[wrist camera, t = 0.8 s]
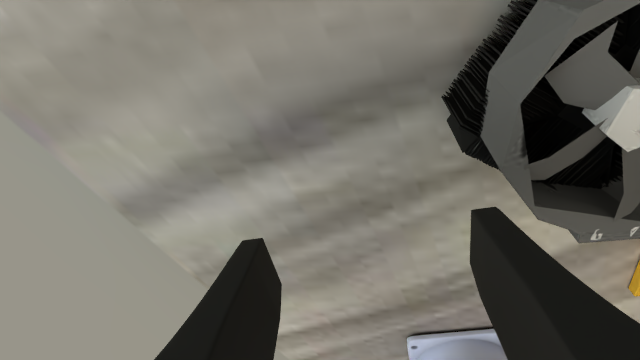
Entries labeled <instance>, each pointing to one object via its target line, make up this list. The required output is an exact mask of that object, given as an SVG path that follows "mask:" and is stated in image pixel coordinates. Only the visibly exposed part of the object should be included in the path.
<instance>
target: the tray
mask: <svg viewBox="0 0 640 360" xmlns="http://www.w3.org/2000/svg"><path fill="white" fill-rule="evenodd" d="M629 290H630V291H631V292H632V294H633V295H634V296H640V261H639V263H638V265H637V268H636V270H635V273H634V275H633V278H632V280H631V283H630V285H629Z"/></svg>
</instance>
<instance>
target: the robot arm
mask: <svg viewBox="0 0 640 360" xmlns="http://www.w3.org/2000/svg"><path fill="white" fill-rule="evenodd" d="M470 265H471V268H472V271H473V275H474V278H475V281H476V285H477V288H478V291H479V294H480V297H481V300H482V302H483V304H484V307H485V309H486V311H487V314H488V316H489V318H490V321H491V323H492V325H493V328H494V329H485V330H473V331H462V332H451V333H440V334H428V335H417V336H410V337H408V338H407V347H408V354H409V360H640V324H639V323H638V322H636V321H635V320H633V319H632V318H630V317H629V316H628V315H626V314H625V313H623V312H622V311H620V310H619V309H618V308H616V307H615V306H613V305H612V304H611V303H609V302H608V301H607V300H605V299H604V298H603V297H601V296H600V295H599V294H597V293H596V292H595V291H593V290H592V289H591V288H589V287H588V286H587V285H585V284H584V283H583V282H582V281H580V280H579V279H578V278H577V277H575V276H574V275H573V274H572V273H570V272H569V271H568V270H567V269H565V268H564V267H563V266H562V265H561V264H559V263H558V262H557V261H556V260H555V259H553V258H552V257H551V256H550V255H549V254H548V253H546V252H545V251H544V250H543V249H542V248H541V247H539V246H538V245H537V244H536V243H535V242H534V241H533V240H532V239H530V238H529V237H528V236H527V235H526V234H525V233H524V232H523V231H522V230H521V229H520V228H518V227H517V226H516V225H515V224H514V223H513V222H512V221H511V220H510V219H509V218H508V217H507V216H506V215H505V214H504V213H503V212H502V211H500V210H499V209H498V208H497V207H490V208H483V209H475V210H471V241H470ZM281 286H282V284H281V282H280V279H279V277H278V274H277V272H276V269H275V267H274V265H273V262H272V260H271V257H270V255H269V252H268V250H267V248H266V245H265V243H264V240H263V238H258V239H251V240H244V241H242V242H241V243H240V245H239V246H238V248H237V249H236V251H235V252H234V253H233V255H232V256H231V258H230V259H229V261H228V262H227V264H226V265H225V267H224V268H223V270H222V271H221V273H220V274H219V276H218V277H217V279H216V280H215V282H214V283H213V284H212V286H211V287H210V289H209V290H208V291H207V293H206V295H205V296H204V297H203V299H202V300H201V302H200V303H199V304H198V306H197V307H196V308H195V310H194V311H193V312H192V314H191V315H190V316H189V317H188V319H187V320H186V321H185V323H184V324H183V325H182V326H181V328H180V329H179V330H178V332H177V333H176V334H175V335H174V337H173V338H172V339H171V341H170V342H169V343H168V344H167V345H166V346H165V348H164V349H163V350H162V351H161V352H160V354H159V355H158V356H157V357H156V358H155V359H154V360H273V359H274V353H275V347H276V341H277V334H278V328H279V322H280V311H281Z"/></svg>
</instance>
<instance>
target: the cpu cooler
mask: <svg viewBox="0 0 640 360" xmlns="http://www.w3.org/2000/svg"><path fill="white" fill-rule="evenodd" d="M517 1H518V0H517ZM525 1H526V2H528V3H530V4H531V5H533V6H534V7H531V6H529V5H527V4H525V3H522V2H520V1H518V2H520V3H522V4H523V5H525V6H527V7H528V8H530V9H532V10H529V9H527V8H525V7H523V6H521V5H520V4H518V3H516V2H514V1H511V3H512V4H514V5H516V6H517V7H519V8H520V9H522V10H524V11H525V12H527V13H529V14H528V15H526V14H525V13H523V12H521V11H519V10H518V9H516V8H514V7H513V6H511V5H508V7H510V8H512V9H513V10H515V11H517V12H518V13H520V14H522V15H523V16H525V17H526V19H525V20H524V22H523V23H521V22H519V21H517V20H516V19H514V18H513V19H514V20H516V21H517V22H519V23H520V24H522V25H521V26H519V25H517V24H515V23H514V22H512V21H511V20H509V19H507V18H506V17H504V16H502V15H501V16H500V17H501V18H503V19H504V20H506V21H508V22H509V23H511V24H512V25H514V26H515V27H517V28H518V30H517V29H515V28H514V27H512V26H510V25H509V24H507V23H505V22H504V21H502V20H500V19H498V21H499V22H501V23H502V24H504V25H505V26H506V27H508V28H509V29H511V30H512V31H514V32H515V34H513V33H512V32H510V31H508V30H506V29H504V28H503V27H501V26H500V27H501V28H502V29H504V30H505V31H506V32H508V33H509V34H511V35H512V36H513V38H512V37H511V36H509V35H507V34H506V33H504V32H502V31H501V30H499V29H497V28H496V29H497V30H499V31H500V32H501V33H502V34H504V35H505V36H506V37H507V38H509V39H510V40H511V41H509V40H507V39H505V38H503V37H501V36H500V35H498V34H496V33H494V32H493V33H494V34H495V35H497V36H498V37H499V38H501V39H502V40H503V41H504V42H506V43H507V44H508V45H507V44H505V43H503V42H501V41H500V40H498V39H496V38H494V37H493V38H494V39H496V40H497V41H498V42H500V43H501V44H500V43H498V42H496V41H495V40H493V39H491V38H489V37H488V38H489V39H490V40H491V41H492V42H493V43H495V44H496V45H497V46H498V47H497V46H496V45H494V44H492V43H491V42H489V41H487V40H485V39H483V41H484V42H485V43H486V44H487V45H486V44H484V43H483V42H482V43H483V44H484V45H485V46H486V47H488V48H489V49H490V50H491V51H492V52H493V53H492V52H490V51H488V50H487V49H485V48H483V47H481V46H480V45H479V46H478V47H479V48H480V49H481V50H482V51H483V52H484V53H483V52H481V51H480V50H478V49H476V51H477V52H478V53H479V54H480V55H481V56H480V55H479V54H477V53H476V55H477V56H478V57H479V58H480V59H481V60H480V59H478V58H476V57H475V56H473V55H472V56H471V57H472V58H473V59H474V60H472V59H470V58H469V61H470V62H471V63H470V62H468V61H467V64H468V65H469V66H470V67H469V66H467V65H466V64H465V65H464V66H465V67H466V68H467V69H468V70H469V71H470V72H468V71H466V70H464V69H463V70H464V71H465V72H463V71H460V73H461V74H462V75H461V74H460V73H459V74H458V75H459V77H460V78H461V79H462V80H461V79H459V78H458V77H457V79H458V80H459V81H457V80H456V79H454V82H455V83H456V84H455V83H453V82H452V83H451V84H452V85H453V86H454V88H453V87H451V86H450V87H451V88H452V90H451V89H450V88H449V90H450V92H451V94H450V93H448V92H446V93H447V94H448V96H449V97H448V96H446V95H444V94H443V95H444V96H445V97H444V96H442V99H443V101H444V102H445V104H446V106H447V108H448V109H449V111H450V113H451V115H450V116H449V118H448V119H447V122H448V124H449V126H450V128H451V130H452V132H453V134H454V136H455V138H456V140H457V142H458V144H459V146H460V148H461V150H462V152H465V154H466V155H469V156H471V157H472V158H477V160H478V159H479V160H480V161H481V160H482V162H483V163H486V164H488V165H489V166H491V167H495V168H497V169H499V170H500V171H501V172H502V173H503V175H504V176H505V177H506V179H507V180H508V181H509V183H510V184H511V185H512V187H513V188H514V189H515V190H516V192H517V193H518V194H519V196H520V197H521V198H522V200H523V201H524V202H525V203H526V205H527V206H528V207H529V209H530V210H531V211H532V213H533V214H534V215H535V216H536V218H537V219H538V220H541V221H544V222H547V223H550V224H553V225H556V226H559V227H562V228H565V229H568V230H569V231H570V233H571V234H572V235H573V236H574V238H575V239H576V240H577V242H578V243H588V242H601V241H614V240H627V239H640V0H525ZM505 14H506V13H505ZM512 14H513V13H512ZM508 16H509V15H508ZM515 16H516V15H515ZM510 17H511V16H510ZM517 17H518V16H517ZM511 18H512V17H511ZM519 18H520V17H519ZM520 19H521V18H520ZM522 20H523V19H522ZM498 26H499V25H498ZM490 36H491V35H490ZM491 37H492V36H491ZM502 44H503V45H504V46H503V45H502ZM488 45H489V46H488Z"/></svg>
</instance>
